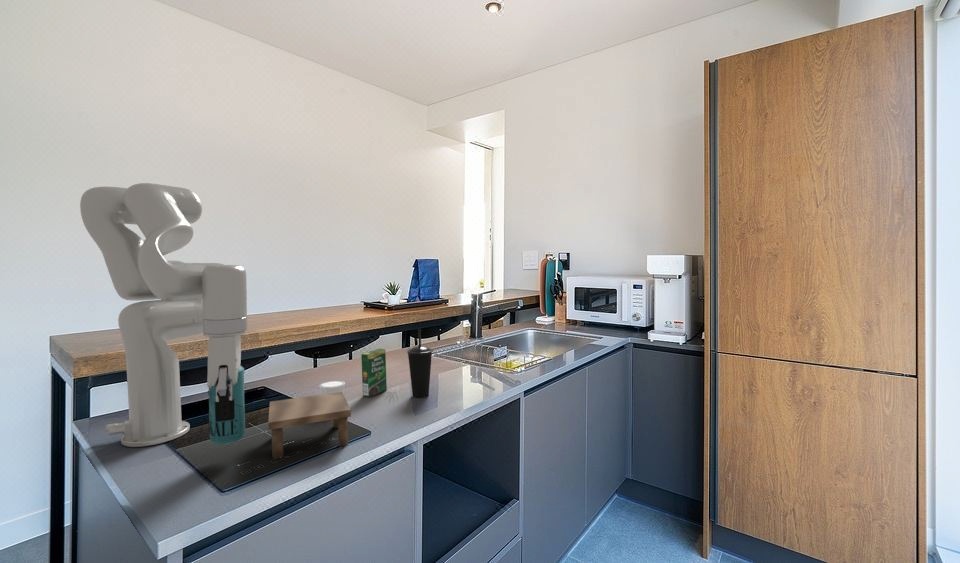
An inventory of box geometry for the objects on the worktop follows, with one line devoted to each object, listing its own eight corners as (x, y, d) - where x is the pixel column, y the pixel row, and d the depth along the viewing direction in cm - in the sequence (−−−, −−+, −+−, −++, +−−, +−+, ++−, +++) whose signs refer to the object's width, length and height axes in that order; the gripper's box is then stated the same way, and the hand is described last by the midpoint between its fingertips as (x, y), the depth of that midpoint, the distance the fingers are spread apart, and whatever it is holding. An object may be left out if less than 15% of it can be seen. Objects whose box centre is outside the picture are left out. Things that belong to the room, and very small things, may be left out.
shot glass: (337, 414, 109) (337, 388, 109) (314, 412, 111) (313, 386, 110) (350, 405, 116) (350, 380, 116) (328, 403, 118) (327, 379, 117)
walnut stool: (269, 461, 84) (268, 422, 83) (270, 435, 96) (269, 401, 96) (351, 445, 91) (350, 409, 90) (342, 423, 103) (341, 391, 103)
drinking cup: (403, 398, 122) (402, 330, 121) (413, 390, 129) (412, 326, 128) (428, 400, 120) (427, 331, 119) (436, 392, 127) (436, 327, 126)
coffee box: (368, 398, 122) (367, 354, 121) (361, 396, 124) (360, 353, 123) (387, 390, 129) (386, 349, 128) (380, 389, 131) (379, 348, 130)
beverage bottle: (238, 435, 89) (237, 343, 88) (251, 444, 85) (250, 348, 84) (203, 445, 84) (201, 348, 83) (215, 456, 80) (213, 353, 79)
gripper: (210, 320, 89) (211, 402, 90) (195, 335, 74) (197, 433, 75) (249, 319, 92) (251, 397, 93) (243, 332, 77) (245, 427, 78)
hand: (227, 412), depth 84 cm, fingers closed on beverage bottle, 6 cm apart
